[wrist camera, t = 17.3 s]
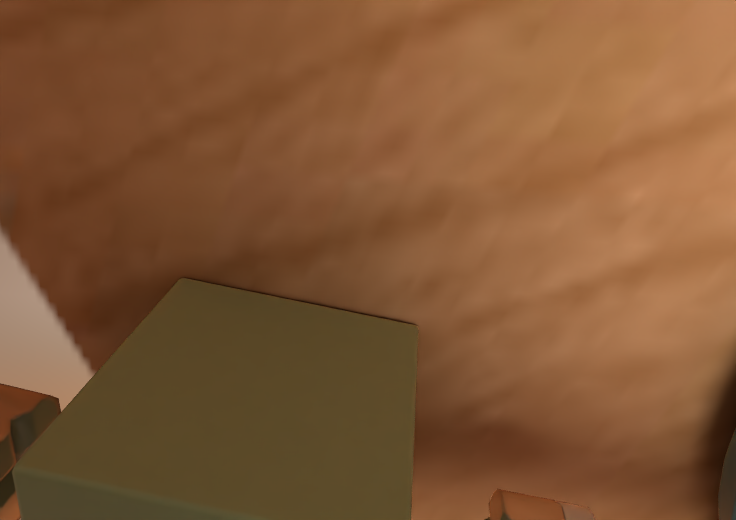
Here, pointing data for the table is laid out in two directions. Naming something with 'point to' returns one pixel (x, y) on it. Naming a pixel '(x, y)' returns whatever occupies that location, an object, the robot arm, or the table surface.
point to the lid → (728, 484)
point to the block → (235, 418)
